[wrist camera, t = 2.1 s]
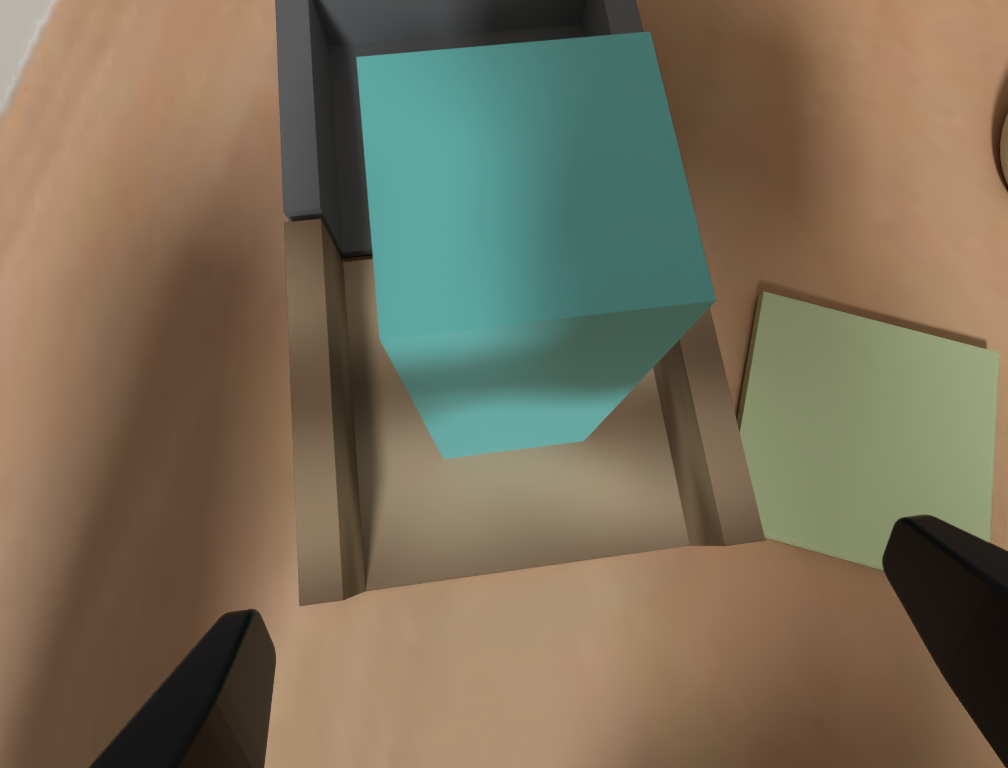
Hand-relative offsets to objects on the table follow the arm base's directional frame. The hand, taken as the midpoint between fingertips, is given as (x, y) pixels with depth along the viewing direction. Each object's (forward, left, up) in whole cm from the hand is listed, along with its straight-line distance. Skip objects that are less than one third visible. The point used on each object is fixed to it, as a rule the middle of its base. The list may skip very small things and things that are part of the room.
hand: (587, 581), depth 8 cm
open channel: (+4, +4, -12) cm, 14 cm away
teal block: (+4, +4, -12) cm, 13 cm away
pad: (+11, -7, -12) cm, 18 cm away
